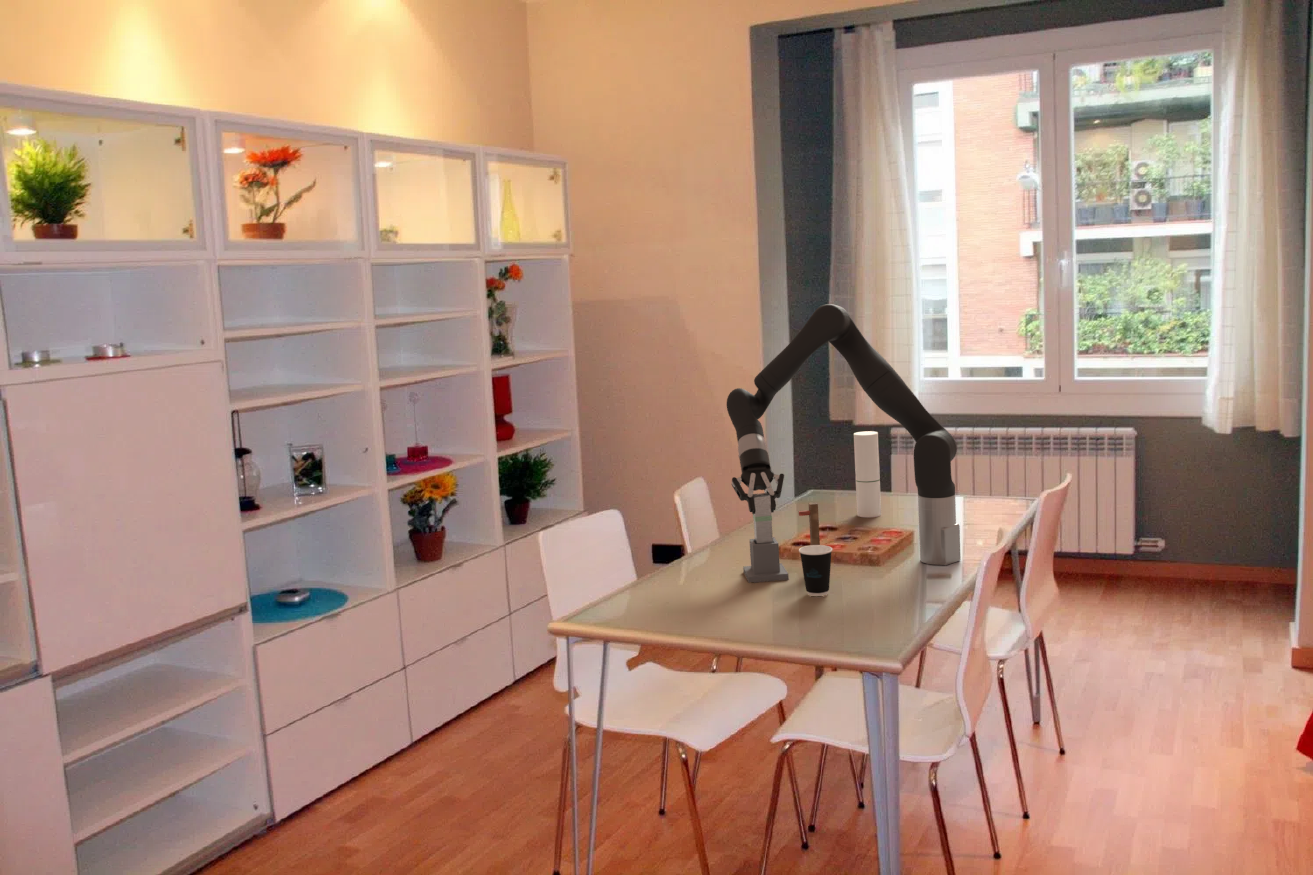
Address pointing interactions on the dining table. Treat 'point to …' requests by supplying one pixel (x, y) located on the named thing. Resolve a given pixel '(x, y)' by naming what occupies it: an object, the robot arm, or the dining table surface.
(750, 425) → the robot arm
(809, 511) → the height gauge
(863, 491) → the cylindrical container
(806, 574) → the dixie cup
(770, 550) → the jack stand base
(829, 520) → the dining table surface
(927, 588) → the dining table surface
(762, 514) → the steel column
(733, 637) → the dining table surface
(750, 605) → the dining table surface
